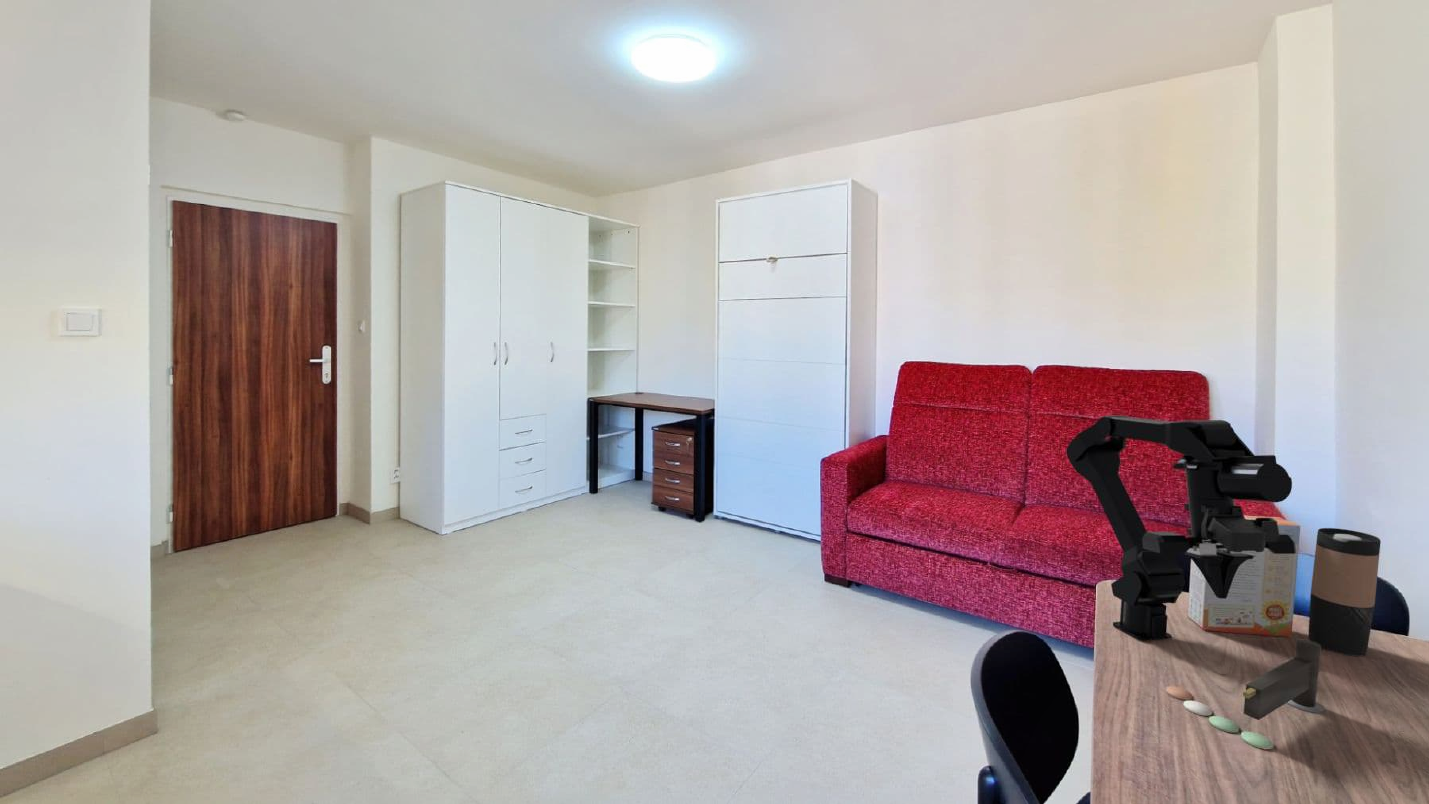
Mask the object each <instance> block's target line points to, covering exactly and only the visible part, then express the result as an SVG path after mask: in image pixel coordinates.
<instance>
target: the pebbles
mask: <svg viewBox="0 0 1429 804" xmlns="http://www.w3.org/2000/svg"><path fill="white" fill-rule="evenodd" d="M1164 691H1165V692H1166V694H1168V696H1171V697H1173V698H1175V699H1178V700H1180V701H1181V700H1182V701H1183V707H1184V708H1185V710H1187V711H1189V712H1190V713H1193V714H1195V715H1198V716H1202V717H1203V716H1204V717H1209V718H1208V722H1209V725H1211V726H1213V727H1214V728H1216V729H1218V730H1221V731H1223V732H1226V733H1232V734H1235V733H1238V732H1239V731H1240V726H1239V724H1237V723H1236V722H1234V721H1233V720H1231V719H1229V718H1226V717H1223V716H1219V715H1212V714H1213V710H1212V709H1211V707H1209V706H1207V705H1206V704H1205V703H1201V702H1199V701H1196V700H1192V699H1193V694H1192V693H1191V692H1190V691H1189V690H1187V689H1184V688H1182V687H1178V686H1175V685H1174V686H1173V685H1168V686H1166V687H1165V690H1164ZM1286 704H1288V705H1290V706H1291V707H1293V708H1295V709H1298V710H1301V711H1304V712H1307V713H1314V714H1315V713H1316V714H1317V713H1319V714H1320V713H1323V712H1324V711H1325V707H1324V706H1323V704H1321V703H1320V702H1318V701H1317V700H1316V702H1315V706H1314V707H1307V706H1303V705H1300V704H1297V703H1295V702H1294V701H1292V700H1290V701H1289V702H1287V703H1286ZM1211 715H1212V716H1211ZM1240 738H1241V739H1242V740H1243V742H1245V743H1246V744H1248V745H1250V746H1252V747H1254V748H1257V749H1260V748H1266V749H1267V748H1272V749H1274V742H1273V741H1272V740H1271V739H1270V738H1268V737H1266V736H1264V735H1262V734H1259V733H1256V732H1252V731H1242V732H1241V734H1240Z"/></svg>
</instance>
